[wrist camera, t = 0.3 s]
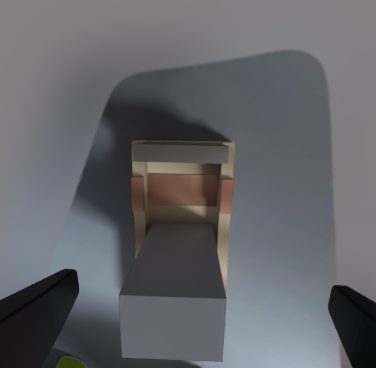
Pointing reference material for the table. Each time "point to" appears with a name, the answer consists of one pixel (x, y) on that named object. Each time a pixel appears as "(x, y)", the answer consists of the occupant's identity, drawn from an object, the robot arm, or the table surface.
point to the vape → (70, 363)
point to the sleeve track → (183, 188)
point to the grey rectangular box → (174, 296)
